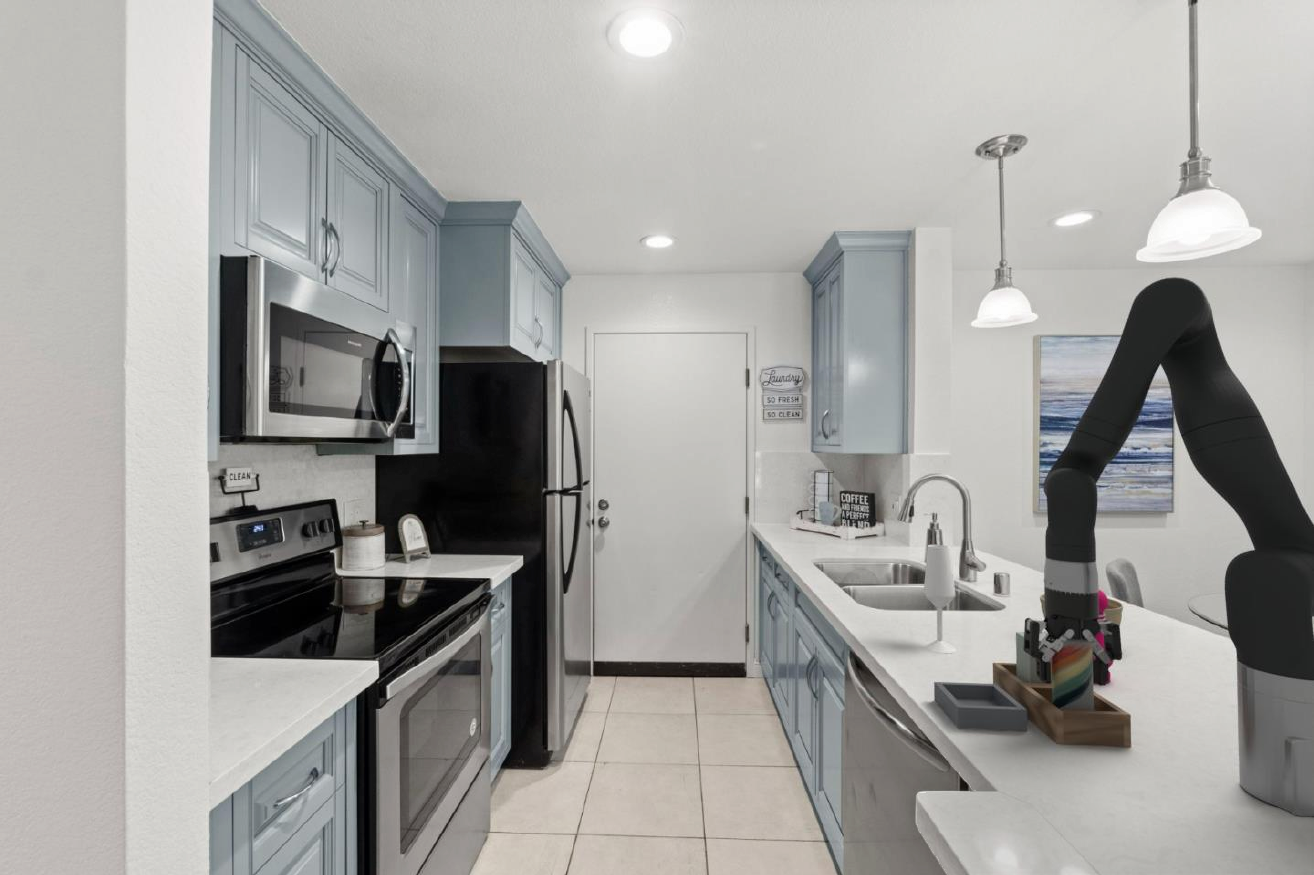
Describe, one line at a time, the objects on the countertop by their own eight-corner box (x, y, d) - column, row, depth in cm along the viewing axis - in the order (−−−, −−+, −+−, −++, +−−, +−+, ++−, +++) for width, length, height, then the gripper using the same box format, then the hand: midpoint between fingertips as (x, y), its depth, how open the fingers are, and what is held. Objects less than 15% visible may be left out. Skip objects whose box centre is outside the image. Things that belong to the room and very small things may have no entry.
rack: (1131, 746, 94) (1130, 714, 94) (1057, 743, 95) (1056, 711, 95) (1052, 690, 116) (1052, 664, 116) (993, 688, 117) (992, 662, 117)
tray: (1027, 731, 99) (1027, 709, 99) (958, 728, 100) (958, 707, 100) (996, 703, 110) (996, 683, 110) (934, 700, 111) (934, 681, 111)
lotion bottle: (1054, 718, 104) (1052, 602, 104) (1095, 727, 100) (1093, 608, 100) (1050, 730, 99) (1048, 609, 100) (1093, 740, 96) (1090, 615, 96)
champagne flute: (918, 646, 141) (917, 545, 142) (935, 642, 145) (934, 543, 145) (945, 655, 136) (943, 549, 136) (962, 649, 139) (960, 546, 140)
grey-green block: (1059, 707, 108) (1058, 641, 108) (1030, 706, 108) (1029, 640, 109) (1044, 696, 113) (1043, 632, 113) (1016, 695, 113) (1015, 632, 114)
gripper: (1037, 590, 97) (1039, 690, 97) (1131, 592, 96) (1133, 694, 95) (1015, 580, 105) (1016, 673, 104) (1101, 582, 103) (1103, 676, 103)
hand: (1072, 683), depth 100 cm, fingers open, 8 cm apart
